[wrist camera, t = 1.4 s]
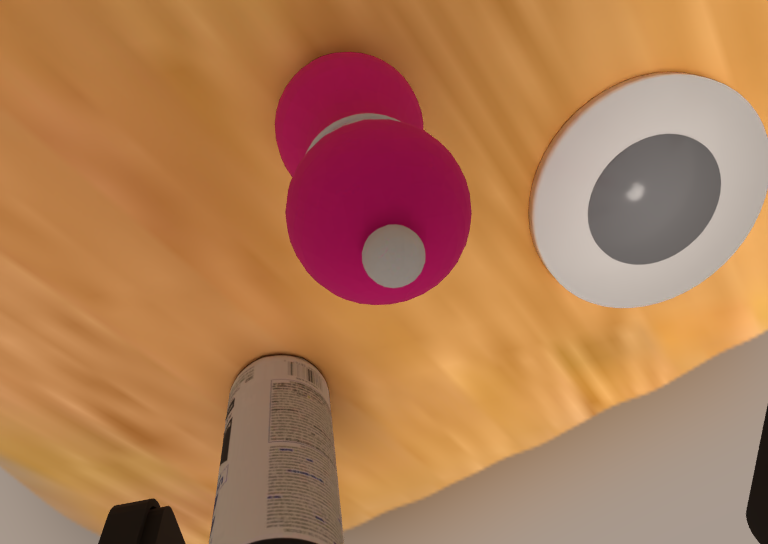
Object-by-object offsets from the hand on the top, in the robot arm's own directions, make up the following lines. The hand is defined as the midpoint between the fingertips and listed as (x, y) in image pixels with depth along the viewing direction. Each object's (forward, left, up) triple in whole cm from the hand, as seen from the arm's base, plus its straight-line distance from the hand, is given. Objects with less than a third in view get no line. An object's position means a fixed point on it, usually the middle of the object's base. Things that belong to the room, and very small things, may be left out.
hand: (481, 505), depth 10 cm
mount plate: (+8, +18, -28) cm, 34 cm away
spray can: (+18, -7, -28) cm, 34 cm away
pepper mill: (0, 0, -28) cm, 28 cm away
